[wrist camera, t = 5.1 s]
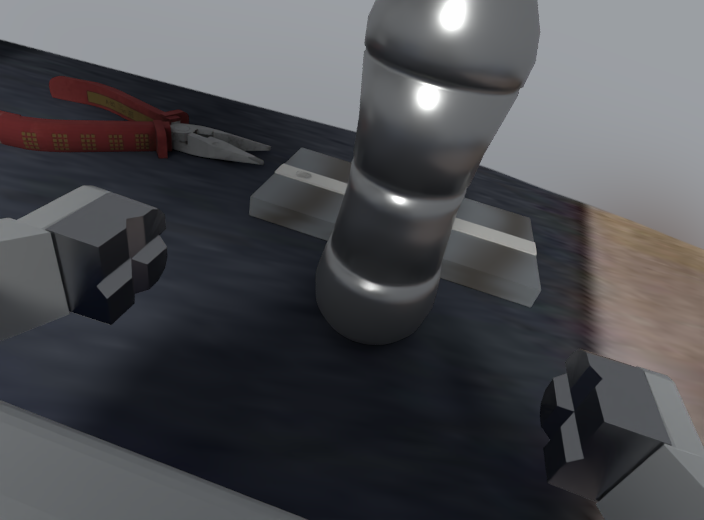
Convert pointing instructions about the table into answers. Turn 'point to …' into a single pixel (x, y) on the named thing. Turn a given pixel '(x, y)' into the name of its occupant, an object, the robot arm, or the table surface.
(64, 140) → the pliers
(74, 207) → the robot arm
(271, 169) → the table surface
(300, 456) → the table surface
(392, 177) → the plastic bottle
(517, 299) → the subfloor board
